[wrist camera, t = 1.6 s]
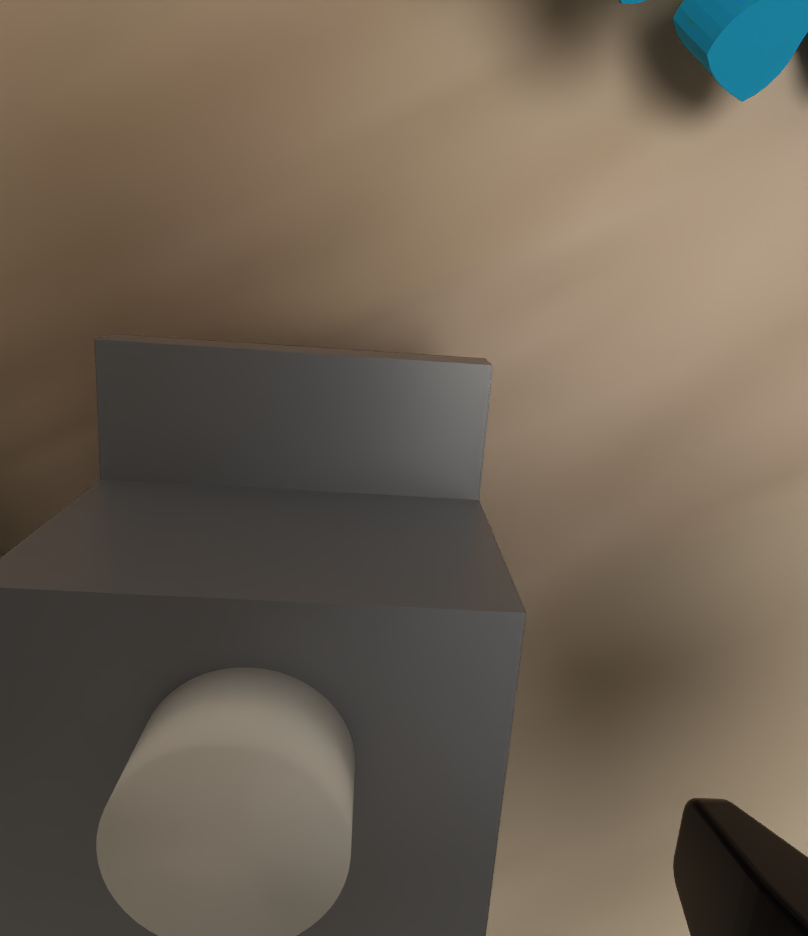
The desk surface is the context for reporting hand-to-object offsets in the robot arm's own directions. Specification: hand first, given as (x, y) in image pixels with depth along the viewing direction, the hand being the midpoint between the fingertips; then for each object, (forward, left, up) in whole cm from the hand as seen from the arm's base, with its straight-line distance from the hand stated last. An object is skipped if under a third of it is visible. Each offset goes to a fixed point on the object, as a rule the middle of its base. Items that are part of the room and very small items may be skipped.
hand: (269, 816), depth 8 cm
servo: (0, 0, -5) cm, 5 cm away
